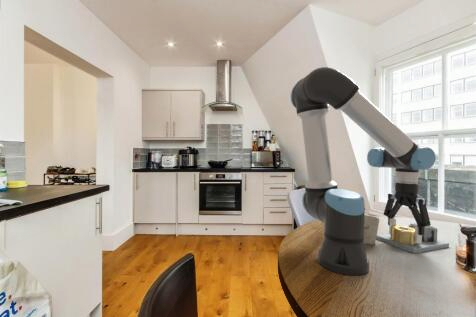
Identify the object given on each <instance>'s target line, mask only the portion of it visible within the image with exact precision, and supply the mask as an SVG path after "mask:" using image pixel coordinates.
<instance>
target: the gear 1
mask: <svg viewBox="0 0 476 317" xmlns="http://www.w3.org/2000/svg"><path fill="white" fill-rule="evenodd" d="M402 226H404V227H408V228H409V230H403V229H401V227H402ZM391 238H392V240H393V241H396V242H399V243H402V244H408V245H416V244H419V243H415V228H411V227H409V226H406V225H398V224H396V226H391Z"/></svg>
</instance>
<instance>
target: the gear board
mask: <svg viewBox="0 0 476 317" xmlns="http://www.w3.org/2000/svg"><path fill="white" fill-rule="evenodd" d="M401 226H402V227H401V229H403V230H409V228H408V227H409V226H407V227H404V226H405V225H401ZM376 240H379V241H381V242H384V243H386V244H389V245H391V246H394V247H397V248H399V249H402V250H405V251H407V252H409V253H412V254H417V253H423V252H427V251H428V252H429V251H435V250H438V249H439V250H440V249H445V248H449V247H450V243H449V242H446V241H443V240H440V239H437V240H436V242H425V241H422V243H419V244H416V245H408V244H402V243H399V242H396V241H393V240H392V238H391V235H390V234H389V232H388V233H380V234H377V236H376Z"/></svg>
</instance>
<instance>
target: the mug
mask: <svg viewBox="0 0 476 317" xmlns="http://www.w3.org/2000/svg"><path fill="white" fill-rule="evenodd" d="M379 225H380V219H379V218H378V217H376V216H372V215H364V241H363V243H364V245H371V246H372V245H373V246H374V245H375V244H376V241H377V239H376V236H377V235H378V231H379Z"/></svg>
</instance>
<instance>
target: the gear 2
mask: <svg viewBox="0 0 476 317" xmlns="http://www.w3.org/2000/svg"><path fill="white" fill-rule="evenodd" d="M415 226H417V223H410V224H408V227H411V228H415ZM436 240H438V228H437V227H434V226H432V225H430V226H425V227H424V235H422V241H425V242H436Z"/></svg>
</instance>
